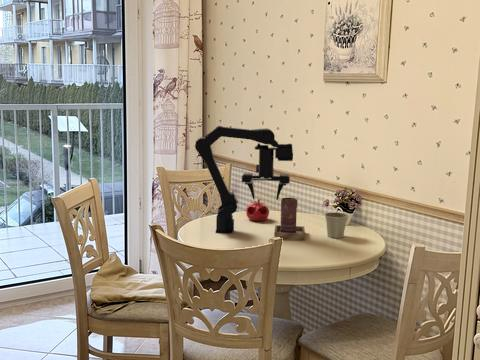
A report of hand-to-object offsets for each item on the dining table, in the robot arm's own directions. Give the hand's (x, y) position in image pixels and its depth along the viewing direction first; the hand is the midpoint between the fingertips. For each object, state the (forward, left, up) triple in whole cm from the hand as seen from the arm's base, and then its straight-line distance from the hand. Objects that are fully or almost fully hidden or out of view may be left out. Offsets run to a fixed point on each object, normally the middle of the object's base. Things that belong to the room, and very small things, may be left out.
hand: (265, 199), depth 225 cm
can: (+10, -5, -12) cm, 16 cm away
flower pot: (+28, -3, -13) cm, 31 cm away
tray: (+10, -5, -13) cm, 17 cm away
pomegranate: (-4, +19, -13) cm, 24 cm away
